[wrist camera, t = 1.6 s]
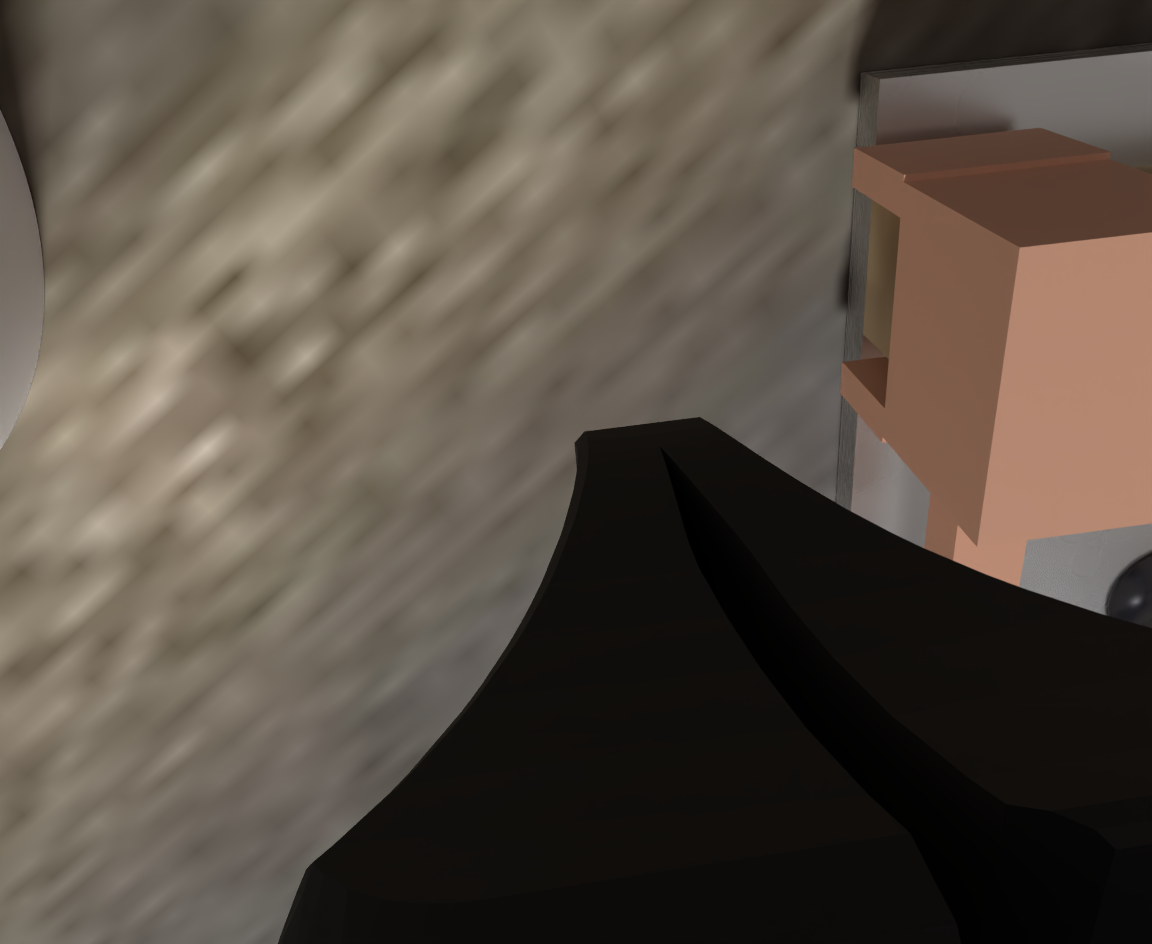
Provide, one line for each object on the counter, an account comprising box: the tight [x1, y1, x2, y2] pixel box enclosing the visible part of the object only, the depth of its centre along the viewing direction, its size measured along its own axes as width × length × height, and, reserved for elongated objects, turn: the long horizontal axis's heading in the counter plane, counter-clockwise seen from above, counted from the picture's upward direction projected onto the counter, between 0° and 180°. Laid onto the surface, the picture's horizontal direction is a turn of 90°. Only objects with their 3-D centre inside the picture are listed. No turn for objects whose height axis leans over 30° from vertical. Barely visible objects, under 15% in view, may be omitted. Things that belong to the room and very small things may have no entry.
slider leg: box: [840, 128, 1152, 586], centre depth 16 cm, size 10×3×5 cm, turn 5°
